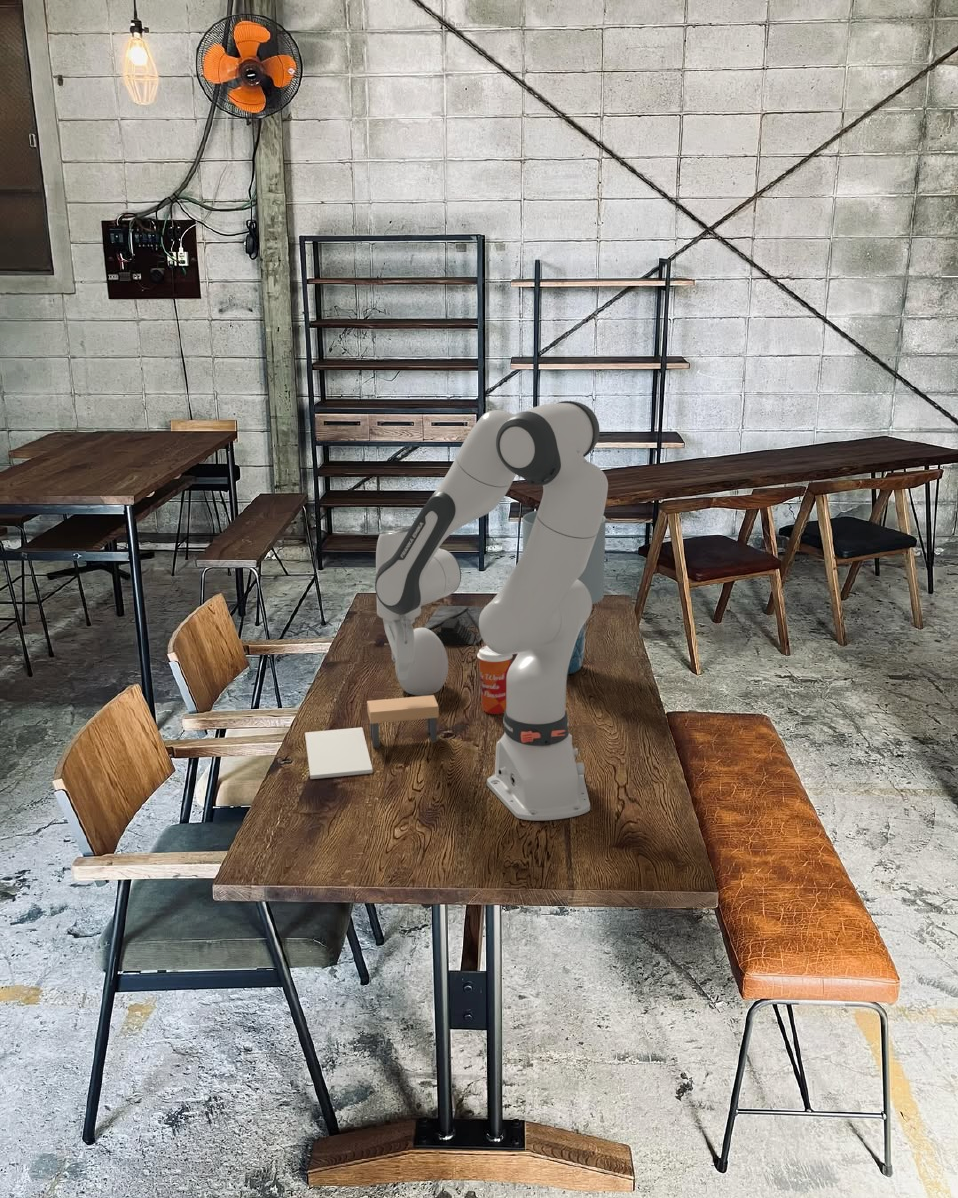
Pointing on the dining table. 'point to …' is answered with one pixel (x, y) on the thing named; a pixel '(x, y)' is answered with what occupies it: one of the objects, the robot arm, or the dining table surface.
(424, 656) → the decorative egg
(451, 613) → the architectural model
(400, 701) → the bench model
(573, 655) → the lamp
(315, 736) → the felt mat
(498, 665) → the paper cup
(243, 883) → the dining table surface
